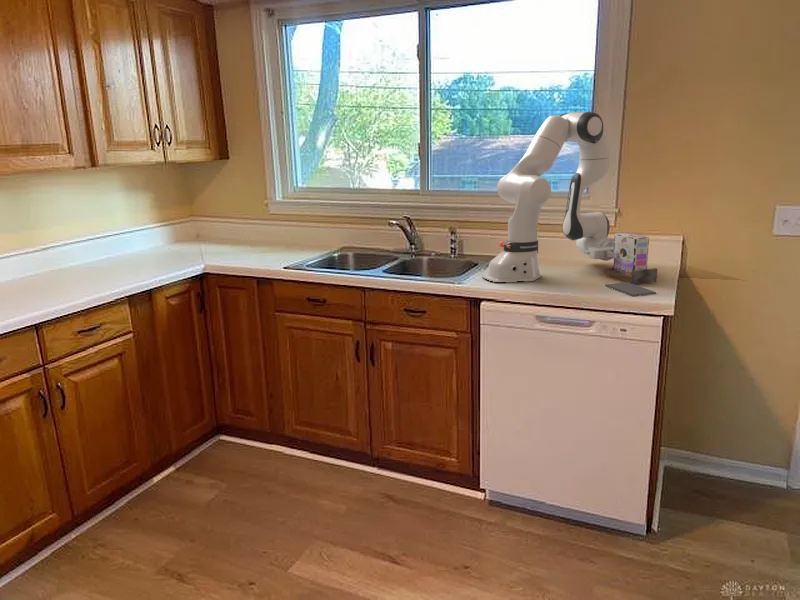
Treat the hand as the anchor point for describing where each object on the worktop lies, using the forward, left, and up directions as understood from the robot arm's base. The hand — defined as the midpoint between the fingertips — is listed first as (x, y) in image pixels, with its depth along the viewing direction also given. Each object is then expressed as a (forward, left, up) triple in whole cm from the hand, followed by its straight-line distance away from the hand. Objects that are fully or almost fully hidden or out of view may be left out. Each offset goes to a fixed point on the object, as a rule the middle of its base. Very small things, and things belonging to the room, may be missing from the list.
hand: (626, 254), depth 233 cm
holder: (0, -3, -9) cm, 9 cm away
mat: (-10, -17, -9) cm, 22 cm away
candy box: (0, -3, -9) cm, 9 cm away
